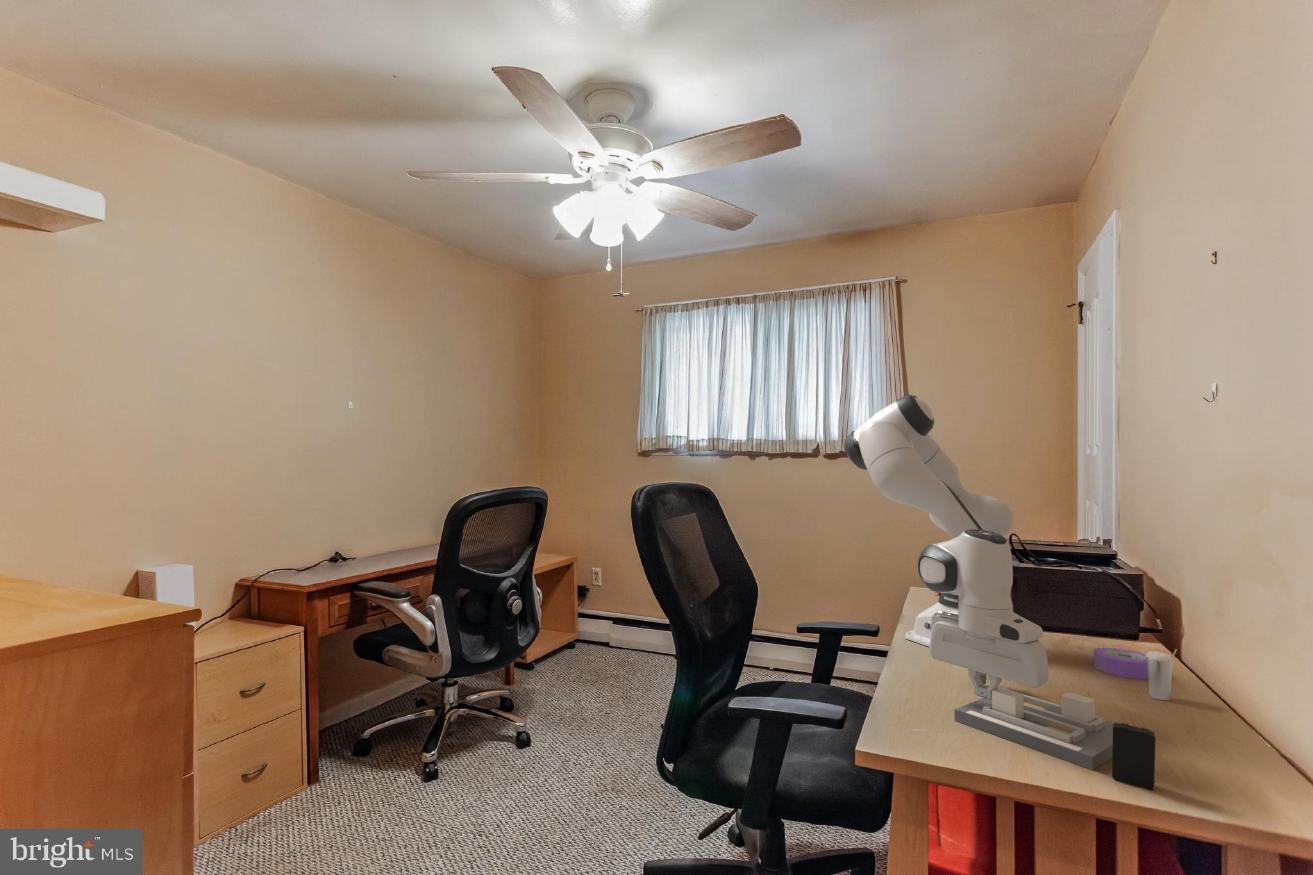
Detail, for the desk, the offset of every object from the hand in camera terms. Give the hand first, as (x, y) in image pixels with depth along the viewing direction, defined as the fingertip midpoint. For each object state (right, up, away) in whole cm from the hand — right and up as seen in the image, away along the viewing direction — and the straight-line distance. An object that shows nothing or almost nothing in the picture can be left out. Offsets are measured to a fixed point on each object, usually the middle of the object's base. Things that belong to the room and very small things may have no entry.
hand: (984, 697), depth 116 cm
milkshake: (+42, -6, +13) cm, 45 cm away
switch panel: (+8, -4, -4) cm, 10 cm away
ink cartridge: (+11, -4, -22) cm, 25 cm away
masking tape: (+48, -7, +30) cm, 57 cm away
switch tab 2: (+14, -2, -5) cm, 15 cm away
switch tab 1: (+2, -2, -3) cm, 4 cm away
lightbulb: (+8, -5, +18) cm, 20 cm away
